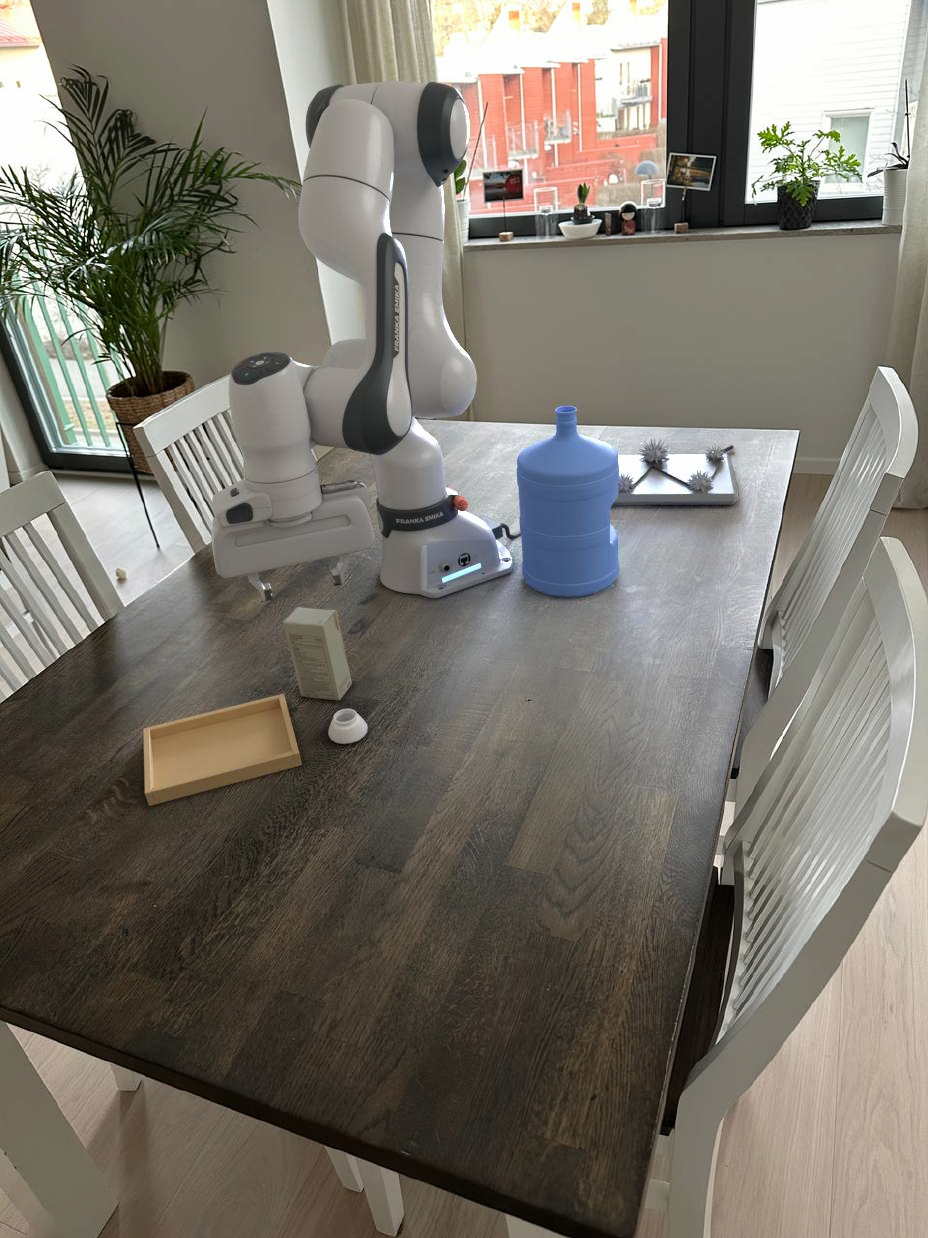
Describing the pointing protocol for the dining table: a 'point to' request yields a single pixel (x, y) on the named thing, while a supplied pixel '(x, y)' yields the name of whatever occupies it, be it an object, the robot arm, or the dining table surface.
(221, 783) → the tray
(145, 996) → the dining table surface
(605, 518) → the water jug
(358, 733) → the white jar
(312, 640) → the cosmetic box
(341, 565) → the robot arm
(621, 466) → the spiky wall art
